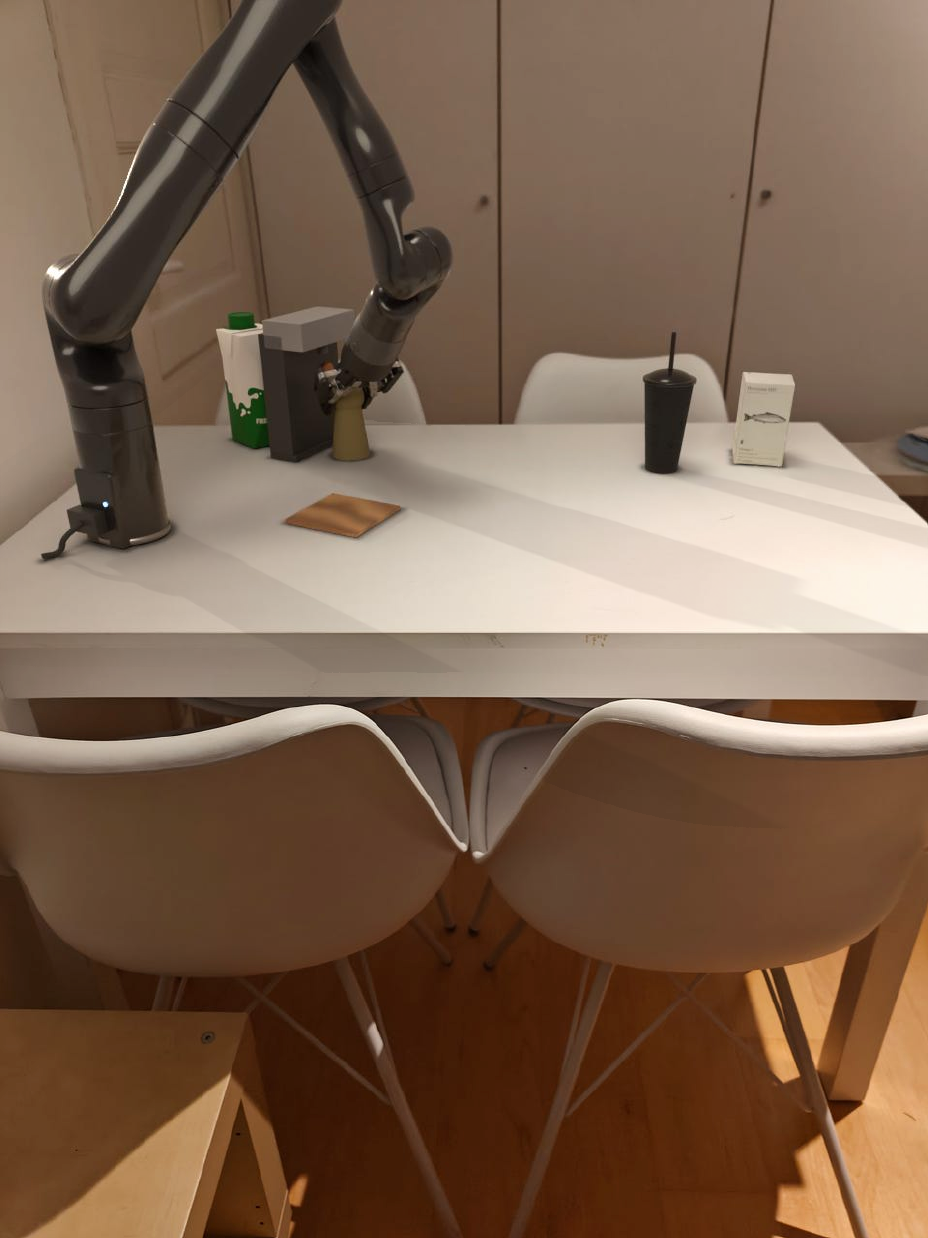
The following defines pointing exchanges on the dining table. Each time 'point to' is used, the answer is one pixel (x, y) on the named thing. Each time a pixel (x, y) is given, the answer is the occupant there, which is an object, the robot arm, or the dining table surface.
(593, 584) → the dining table surface
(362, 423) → the pepper shaker
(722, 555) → the dining table surface
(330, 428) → the coffee machine
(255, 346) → the milk carton
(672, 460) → the drinking cup
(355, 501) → the coaster
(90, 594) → the dining table surface
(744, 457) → the white packaging box
